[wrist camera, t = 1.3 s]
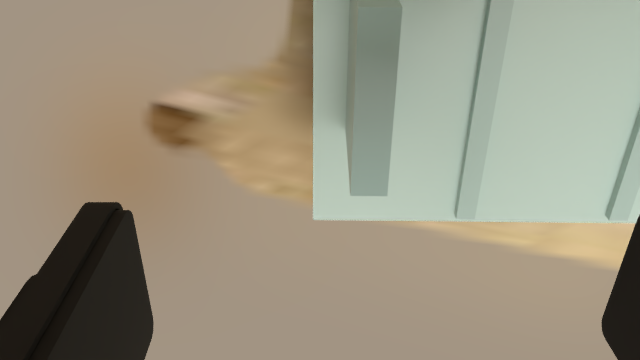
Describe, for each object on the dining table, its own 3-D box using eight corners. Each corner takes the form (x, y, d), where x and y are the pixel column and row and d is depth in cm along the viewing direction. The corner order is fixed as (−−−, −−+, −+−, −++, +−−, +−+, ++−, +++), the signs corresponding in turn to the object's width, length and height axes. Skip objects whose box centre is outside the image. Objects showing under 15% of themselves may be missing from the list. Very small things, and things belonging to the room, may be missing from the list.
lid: (896, -171, 19) (1177, -183, 13) (729, 197, 26) (854, 303, 20) (314, -175, 19) (309, -190, 13) (313, 193, 26) (310, 297, 20)
